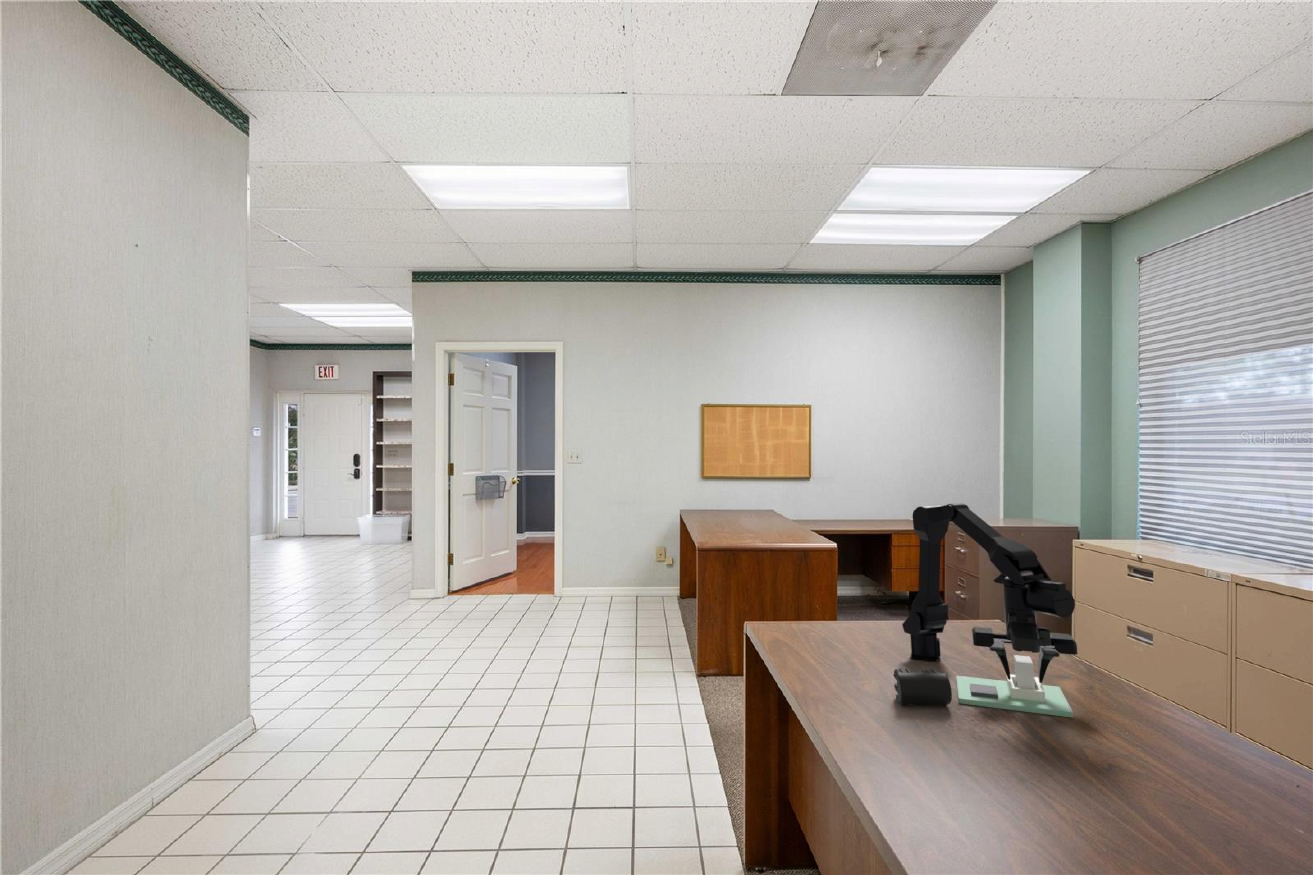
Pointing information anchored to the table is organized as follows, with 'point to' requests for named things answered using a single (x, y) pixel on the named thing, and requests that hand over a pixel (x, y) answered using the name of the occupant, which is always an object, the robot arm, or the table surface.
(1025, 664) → the plug
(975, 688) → the board
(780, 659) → the table surface
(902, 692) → the end cap
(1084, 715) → the table surface
